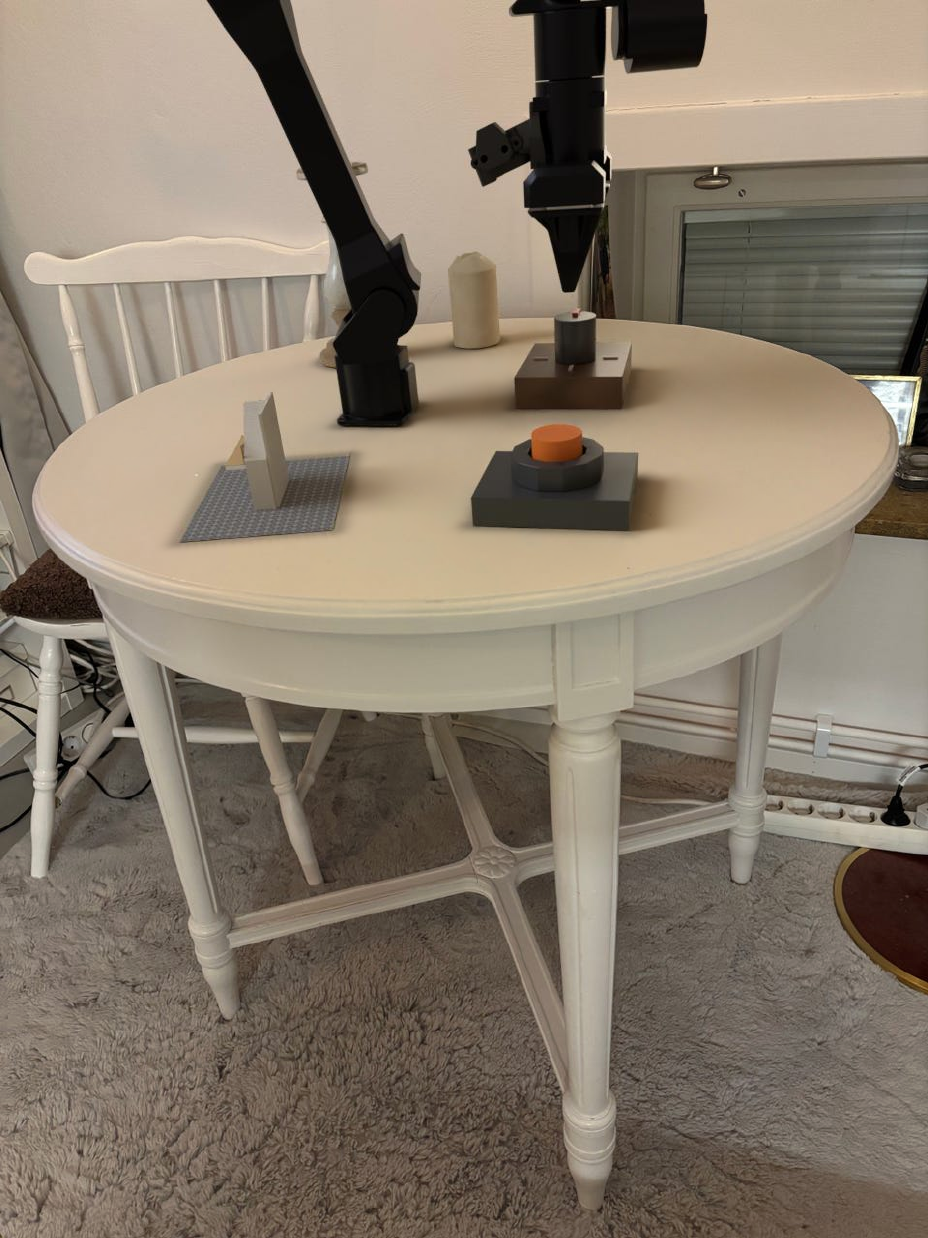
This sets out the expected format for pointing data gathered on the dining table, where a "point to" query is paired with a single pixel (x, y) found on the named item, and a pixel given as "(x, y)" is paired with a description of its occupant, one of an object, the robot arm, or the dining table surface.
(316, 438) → the dining table surface
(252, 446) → the architectural model
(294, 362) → the dining table surface
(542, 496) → the push button base
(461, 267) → the candle
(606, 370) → the panel
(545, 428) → the spray button
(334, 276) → the candle holder
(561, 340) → the knob
